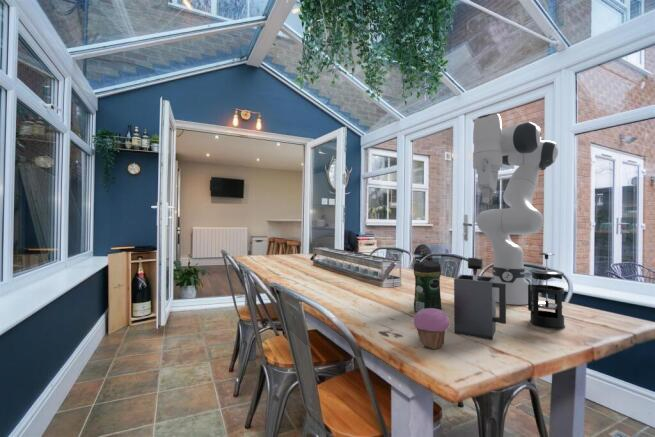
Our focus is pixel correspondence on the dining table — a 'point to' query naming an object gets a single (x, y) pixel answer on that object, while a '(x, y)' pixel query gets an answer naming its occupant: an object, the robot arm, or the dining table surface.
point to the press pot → (478, 306)
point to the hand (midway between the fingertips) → (487, 203)
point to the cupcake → (431, 327)
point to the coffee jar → (427, 285)
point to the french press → (546, 317)
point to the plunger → (475, 265)
